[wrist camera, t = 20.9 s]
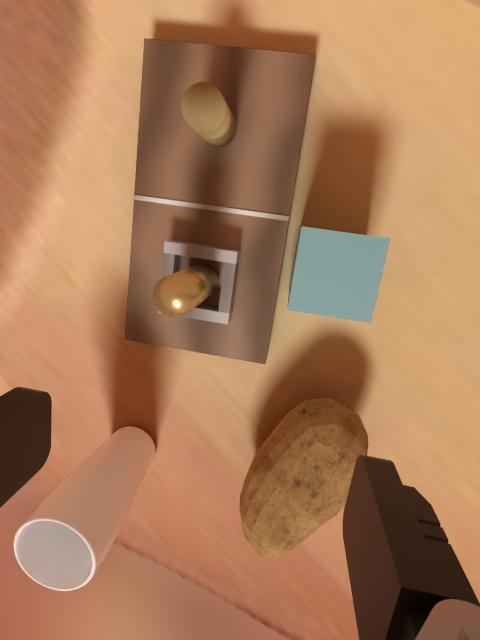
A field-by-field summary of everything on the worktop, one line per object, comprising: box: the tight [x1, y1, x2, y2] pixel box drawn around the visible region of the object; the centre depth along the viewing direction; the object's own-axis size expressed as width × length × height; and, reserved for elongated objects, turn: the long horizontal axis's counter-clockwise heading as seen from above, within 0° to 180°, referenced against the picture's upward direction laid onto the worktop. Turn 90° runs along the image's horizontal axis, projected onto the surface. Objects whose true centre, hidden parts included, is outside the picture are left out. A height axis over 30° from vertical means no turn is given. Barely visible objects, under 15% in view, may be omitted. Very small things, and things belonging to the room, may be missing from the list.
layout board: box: [125, 38, 316, 364], centre depth 32 cm, size 14×26×8 cm, turn 172°
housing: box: [288, 226, 390, 323], centre depth 31 cm, size 6×6×9 cm
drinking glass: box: [14, 426, 155, 591], centre depth 36 cm, size 7×7×15 cm
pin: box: [153, 263, 219, 318], centre depth 31 cm, size 3×3×9 cm
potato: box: [240, 398, 368, 559], centre depth 36 cm, size 9×16×9 cm, turn 145°
